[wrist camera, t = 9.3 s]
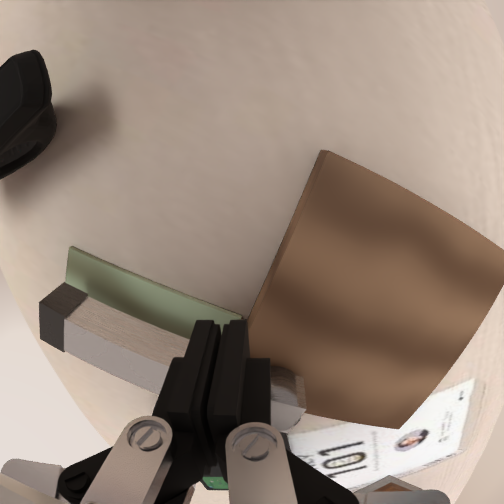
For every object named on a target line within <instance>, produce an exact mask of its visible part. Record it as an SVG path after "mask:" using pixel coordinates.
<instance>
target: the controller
mask: <svg viewBox="0 0 504 504" xmlns="http://www.w3.org/2000/svg"><path fill="white" fill-rule="evenodd" d="M51 97H52V90H51V83H50V78H49V74H48V71H47V68H46V65H45V62H44V59H43V57H42V56H41V54H40V53H39V52H38V51H37V50H31V51H26V52H23V53H20V54H16V55H14V56H12V57H10V58H9V59H8V60H7V61H6V62H5V63H4V64H3V65H2V66H1V67H0V179H2V178H4V177H6V176H8V175H10V174H12V173H13V172H15V171H16V170H18V169H20V168H21V167H23V166H24V165H26V164H27V163H29V162H30V161H31V160H33V159H34V158H35V157H36V156H37V155H39V154H40V153H41V152H42V151H43V150H44V149H45V148H46V146H47V145H48V144H49V143H50V141H51V140H52V138H53V136H54V134H55V131H56V117H55V113H54V110H53V106H52V103H51Z"/></svg>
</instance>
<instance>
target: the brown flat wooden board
mask: <svg viewBox="0 0 504 504" xmlns="http://www.w3.org/2000/svg"><path fill="white" fill-rule="evenodd" d="M65 283H67V284H69V285H71V286H73V287H75V288H77V289H79V290H81V291H83V292H86V293H88V297H90V298H93V299H95V300H97V301H99V302H101V303H103V304H105V305H108V306H110V307H112V308H114V309H116V310H119V311H121V312H123V313H125V314H128V315H130V316H132V317H135V318H137V319H139V320H142V321H144V322H146V323H149V324H151V325H154V326H156V327H158V328H161V329H163V330H166V331H168V332H171V333H174V334H176V335H179V336H181V337H184V338H186V339H189V340H190V337H191V334H192V331H193V328H194V325H195V322H196V320H214V323H215V324H220V328H221V335H222V331H223V326H224V324H229V323H230V320H241V316H242V315H239V314H236V313H234V312H231V311H228V310H225V309H223V308H220V307H217V306H215V305H212V304H209V303H207V302H204V301H201V300H199V299H196V298H193V297H191V296H188V295H186V294H183V293H181V292H178V291H176V290H173V289H171V288H168V287H166V286H163V285H161V284H158V283H156V282H153V281H151V280H148V279H146V278H144V277H141V276H139V275H136V274H134V273H132V272H129V271H127V270H125V269H122V268H120V267H118V266H115V265H113V264H111V263H108V262H106V261H104V260H102V259H99V258H97V257H95V256H93V255H90V254H88V253H86V252H84V251H82V250H79V249H77V248H75V247H73V246H71V247H69V252H68V260H67V270H66V281H65ZM503 285H504V250H503V249H501V248H500V247H499V246H497V245H496V244H494V243H493V242H491V241H490V240H489V239H487V238H486V237H484V236H483V235H481V234H480V233H478V232H477V231H475V230H474V229H472V228H471V227H469V226H467V225H466V224H464V223H463V222H461V221H460V220H458V219H456V218H455V217H453V216H452V215H450V214H448V213H447V212H445V211H443V210H442V209H440V208H438V207H437V206H435V205H433V204H432V203H430V202H428V201H426V200H425V199H423V198H421V197H419V196H418V195H416V194H414V193H412V192H410V191H409V190H407V189H405V188H403V187H401V186H399V185H397V184H396V183H394V182H392V181H390V180H388V179H386V178H384V177H382V176H380V175H378V174H376V173H374V172H372V171H370V170H368V169H366V168H364V167H362V166H360V165H358V164H356V163H354V162H352V161H350V160H348V159H345V158H343V157H341V156H339V155H337V154H335V153H332V152H330V151H326V150H321V151H320V153H319V156H318V158H317V160H316V163H315V165H314V168H313V170H312V172H311V175H310V177H309V180H308V182H307V184H306V187H305V189H304V191H303V194H302V196H301V199H300V201H299V203H298V206H297V208H296V210H295V213H294V215H293V217H292V220H291V222H290V224H289V227H288V229H287V231H286V234H285V236H284V238H283V241H282V243H281V245H280V248H279V250H278V252H277V254H276V257H275V259H274V261H273V264H272V266H271V268H270V270H269V273H268V275H267V277H266V280H265V282H264V284H263V286H262V289H261V291H260V293H259V295H258V298H257V300H256V302H255V304H254V307H253V309H252V311H251V313H250V315H249V318H248V320H247V322H248V334H249V347H250V358H270V363H271V366H279V367H284V368H287V369H289V370H291V371H292V372H293V373H295V375H299V376H303V379H304V388H305V398H306V408H307V409H306V411H305V412H304V413H308V414H312V415H317V416H321V417H326V418H331V419H336V420H342V421H347V422H353V423H358V424H365V425H371V426H378V427H385V428H392V429H400V428H401V427H402V425H403V424H404V423H405V422H406V421H407V420H408V419H409V418H410V417H411V416H412V415H413V414H414V412H415V411H416V410H417V409H418V408H419V407H420V406H421V404H422V403H423V402H424V401H425V400H426V399H427V397H428V396H429V395H430V394H431V393H432V391H433V390H434V389H435V388H436V387H437V385H438V384H439V383H440V382H441V380H442V379H443V378H444V376H445V375H446V374H447V373H448V371H449V370H450V369H451V367H452V366H453V364H454V363H455V362H456V360H457V359H458V358H459V356H460V355H461V353H462V352H463V351H464V349H465V348H466V346H467V345H468V343H469V342H470V340H471V339H472V337H473V336H474V334H475V333H476V331H477V330H478V328H479V326H480V325H481V323H482V322H483V320H484V318H485V317H486V315H487V313H488V312H489V310H490V308H491V307H492V305H493V303H494V301H495V300H496V298H497V296H498V294H499V292H500V290H501V289H502V287H503Z"/></svg>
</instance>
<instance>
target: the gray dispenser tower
mask: <svg viewBox="0 0 504 504" xmlns="http://www.w3.org/2000/svg"><path fill="white" fill-rule="evenodd" d="M418 490H422V489H420V488H418V487H415V486H413V485H411V484H408V483H406V482H404V481H401V480H399V479H397V478H395V477H392V476H390V475H389V476H387V477H385V478H383V479H381V480H379V481H377V482H375V483H373V484H371V485H369V486H367V487H365V488H363V489H361V490H358V491H356V492H354V493H359V494H367V492H368V491H371V492H393V491H418Z"/></svg>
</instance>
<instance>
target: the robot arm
mask: <svg viewBox="0 0 504 504" xmlns="http://www.w3.org/2000/svg"><path fill="white" fill-rule="evenodd" d="M218 463H219V467H220V470H221V473H222V476H223V479H224V481H225V482H226V483H227V484H228V489H229V501H230V504H450V500H449V498H448V497H447V495H446V494H445V493H443V492H441V491H439V490H418V491H393V492H371V491H368V492H367V494H359V493H352V492H351V491H349V490H348V489H346V488H344V487H343V486H341V485H340V484H338V483H336V482H335V481H333V480H332V479H330V478H328V477H327V476H325V475H324V474H322V473H321V472H319V471H318V470H316V469H315V468H313V467H312V466H310V465H309V464H307V463H306V462H304V461H303V460H301V459H300V458H298V457H297V456H295V455H294V454H293V453H291V452H290V451H288V450H287V449H286V448H285V445H284V441H283V438H282V436H281V434H280V432H279V431H278V430H277V429H276V428H274V427H272V426H271V363H270V358H250V347H249V334H248V322H247V319H243V320H230V323H229V324H224V326H223V331H222V335H221V328H220V324H215V323H214V320H196V322H195V325H194V328H193V331H192V334H191V337H190V340H189V343H188V346H187V349H186V352H185V355H184V357H174V358H173V359H172V361H171V364H170V366H169V369H168V372H167V375H166V377H165V380H164V383H163V386H162V389H161V391H160V394H159V397H158V400H157V403H156V406H155V408H154V411H153V414H152V416H143V417H139V418H136V419H134V420H133V421H131V422H130V423H128V424H127V426H126V427H125V428H124V430H123V431H122V433H121V435H120V436H119V438H118V440H117V441H116V443H115V445H114V446H113V447H111V448H108V449H106V450H104V451H102V452H100V453H98V454H96V455H93V456H91V457H89V458H87V459H85V460H82V461H80V462H78V463H75V464H73V465H71V466H69V467H67V468H62V466H61V465H53V464H46V463H39V462H33V461H26V460H21V459H11V460H9V461H7V462H6V463H5V464H4V466H3V468H2V470H1V473H0V504H190V501H191V498H192V496H193V493H194V490H195V485H196V483H197V482H199V481H201V480H202V479H203V475H204V474H205V475H210V472H211V467H217V464H218Z"/></svg>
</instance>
